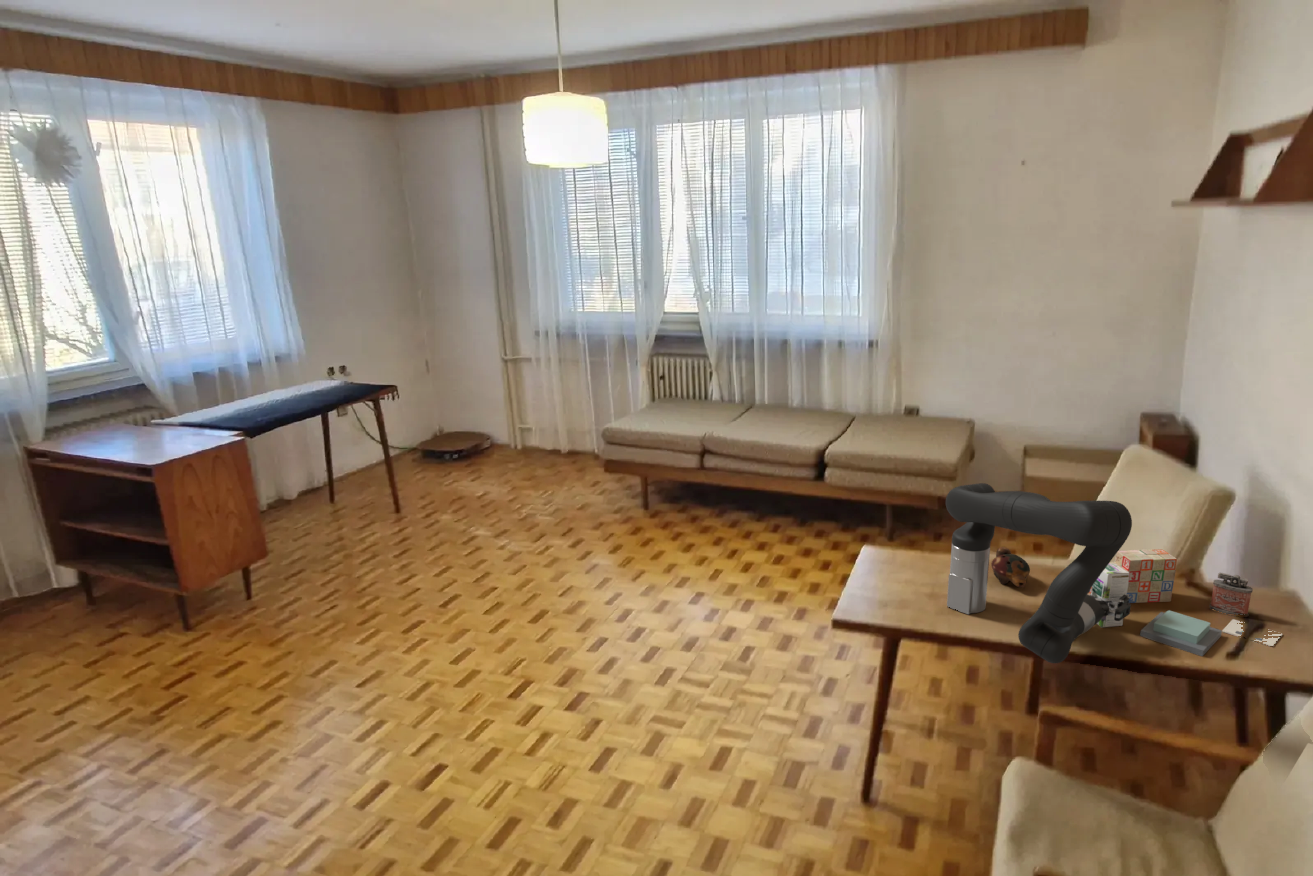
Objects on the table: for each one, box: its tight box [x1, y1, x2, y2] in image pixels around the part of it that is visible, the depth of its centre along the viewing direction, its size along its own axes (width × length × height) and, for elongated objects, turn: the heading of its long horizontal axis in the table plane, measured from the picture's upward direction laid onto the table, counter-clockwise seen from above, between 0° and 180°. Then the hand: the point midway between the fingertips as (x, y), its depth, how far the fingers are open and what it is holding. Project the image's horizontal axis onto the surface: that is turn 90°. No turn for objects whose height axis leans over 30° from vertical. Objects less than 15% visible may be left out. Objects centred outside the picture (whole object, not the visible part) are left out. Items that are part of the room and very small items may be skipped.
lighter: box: [1209, 572, 1254, 615], centre depth 201 cm, size 8×3×10 cm, turn 47°
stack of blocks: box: [1088, 548, 1178, 604], centre depth 211 cm, size 21×6×12 cm, turn 91°
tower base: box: [1139, 609, 1223, 657], centre depth 192 cm, size 13×13×4 cm
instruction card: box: [1222, 618, 1283, 647], centre depth 193 cm, size 8×10×1 cm
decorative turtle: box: [991, 546, 1031, 588], centre depth 223 cm, size 10×15×8 cm, turn 5°
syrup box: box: [1091, 563, 1130, 628], centre depth 199 cm, size 6×6×14 cm
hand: (1107, 592), depth 198 cm, fingers open, 8 cm apart
